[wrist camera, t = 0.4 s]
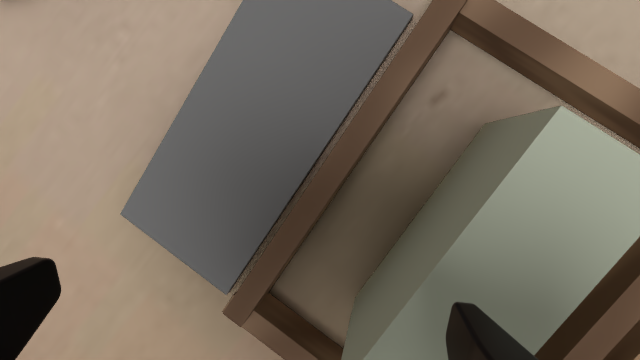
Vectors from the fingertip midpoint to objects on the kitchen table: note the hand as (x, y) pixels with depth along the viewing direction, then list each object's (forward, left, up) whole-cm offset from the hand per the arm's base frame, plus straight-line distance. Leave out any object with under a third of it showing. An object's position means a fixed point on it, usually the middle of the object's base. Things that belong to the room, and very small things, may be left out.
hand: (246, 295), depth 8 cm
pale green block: (-6, -2, -13) cm, 15 cm away
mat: (+6, -1, -13) cm, 15 cm away
